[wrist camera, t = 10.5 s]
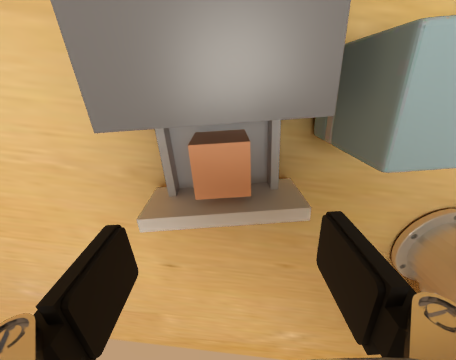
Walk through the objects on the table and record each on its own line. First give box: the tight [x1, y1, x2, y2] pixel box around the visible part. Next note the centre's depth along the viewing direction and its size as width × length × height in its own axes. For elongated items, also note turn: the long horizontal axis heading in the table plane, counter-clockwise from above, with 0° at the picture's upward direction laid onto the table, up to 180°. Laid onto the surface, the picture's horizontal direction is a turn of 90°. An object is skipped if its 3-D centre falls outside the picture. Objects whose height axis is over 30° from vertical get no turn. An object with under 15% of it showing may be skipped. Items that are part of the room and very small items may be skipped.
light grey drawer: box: [137, 120, 311, 232], centre depth 19 cm, size 17×16×6 cm
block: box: [188, 129, 251, 200], centre depth 20 cm, size 5×5×5 cm
